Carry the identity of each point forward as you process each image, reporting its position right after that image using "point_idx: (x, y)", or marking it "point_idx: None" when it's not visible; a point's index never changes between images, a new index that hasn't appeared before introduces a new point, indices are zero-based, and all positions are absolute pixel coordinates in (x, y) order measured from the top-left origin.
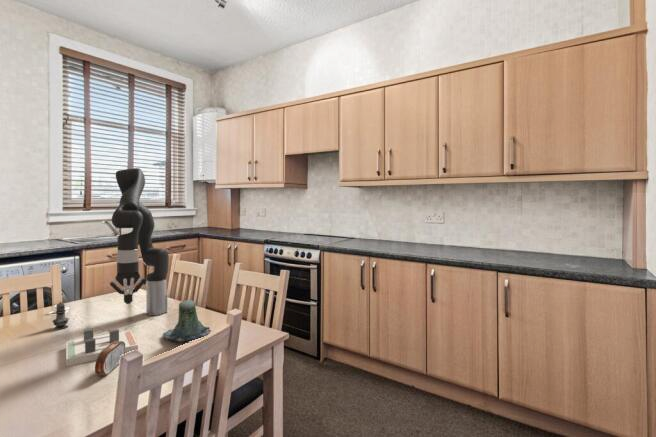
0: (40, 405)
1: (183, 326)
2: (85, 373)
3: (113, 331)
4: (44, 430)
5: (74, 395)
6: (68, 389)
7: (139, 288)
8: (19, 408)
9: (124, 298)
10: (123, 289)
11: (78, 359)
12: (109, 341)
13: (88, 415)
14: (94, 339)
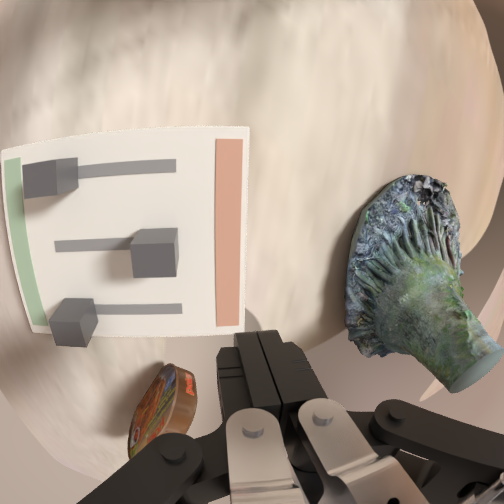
0: (67, 441)
1: (406, 351)
2: (100, 385)
3: (149, 275)
4: (102, 480)
5: (108, 445)
6: (89, 425)
7: (411, 466)
8: (41, 432)
9: (223, 413)
10: (231, 487)
11: None
12: None
13: None
14: (81, 336)
